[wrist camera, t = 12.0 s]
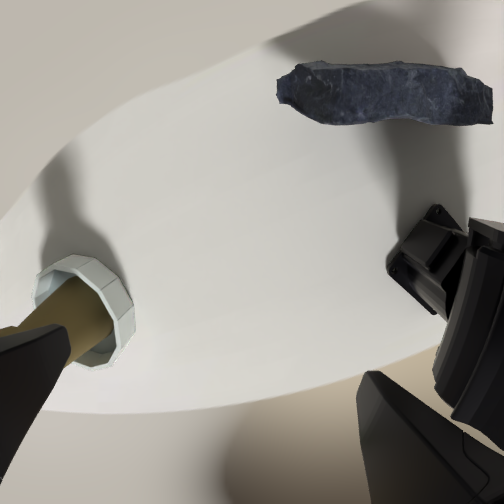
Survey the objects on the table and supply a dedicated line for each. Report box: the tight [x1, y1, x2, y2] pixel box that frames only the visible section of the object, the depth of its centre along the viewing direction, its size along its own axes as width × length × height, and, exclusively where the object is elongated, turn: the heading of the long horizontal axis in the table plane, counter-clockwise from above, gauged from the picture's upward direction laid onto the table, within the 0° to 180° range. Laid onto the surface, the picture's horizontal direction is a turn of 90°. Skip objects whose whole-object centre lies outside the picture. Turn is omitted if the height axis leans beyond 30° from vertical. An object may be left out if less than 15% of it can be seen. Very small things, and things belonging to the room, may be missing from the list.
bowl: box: [31, 254, 136, 371], centre depth 21 cm, size 9×9×3 cm
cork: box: [0, 276, 114, 368], centre depth 16 cm, size 6×6×11 cm
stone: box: [276, 61, 493, 126], centre depth 12 cm, size 14×6×10 cm, turn 116°
